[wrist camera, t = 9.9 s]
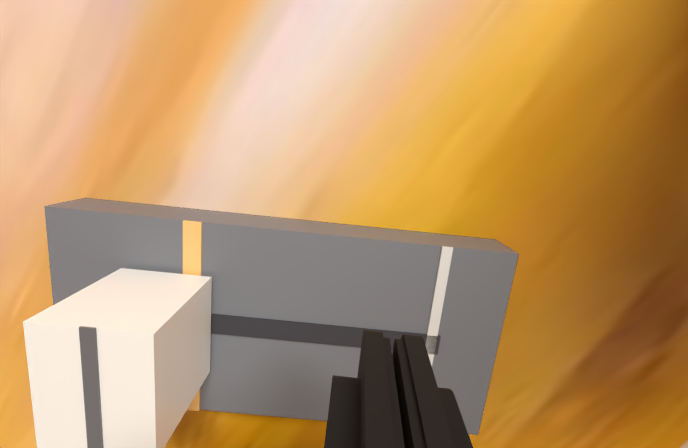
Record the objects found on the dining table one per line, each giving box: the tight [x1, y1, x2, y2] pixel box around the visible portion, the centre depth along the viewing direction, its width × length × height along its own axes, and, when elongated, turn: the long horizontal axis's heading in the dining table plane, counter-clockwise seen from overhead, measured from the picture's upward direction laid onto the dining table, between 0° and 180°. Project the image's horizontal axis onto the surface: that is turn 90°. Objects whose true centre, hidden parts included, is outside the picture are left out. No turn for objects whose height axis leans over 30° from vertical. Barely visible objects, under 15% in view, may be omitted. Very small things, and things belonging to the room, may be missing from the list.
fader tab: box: [23, 268, 212, 448], centre depth 17 cm, size 5×6×6 cm
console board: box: [45, 198, 519, 435], centre depth 22 cm, size 26×12×3 cm, turn 84°
